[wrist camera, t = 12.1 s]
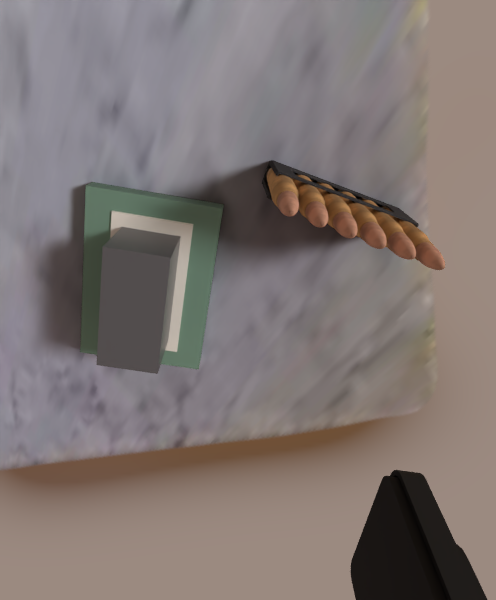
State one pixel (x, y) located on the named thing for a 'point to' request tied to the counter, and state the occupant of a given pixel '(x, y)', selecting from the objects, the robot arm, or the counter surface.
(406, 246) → the ammunition clip
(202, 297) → the header board
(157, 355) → the block
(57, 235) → the counter surface
